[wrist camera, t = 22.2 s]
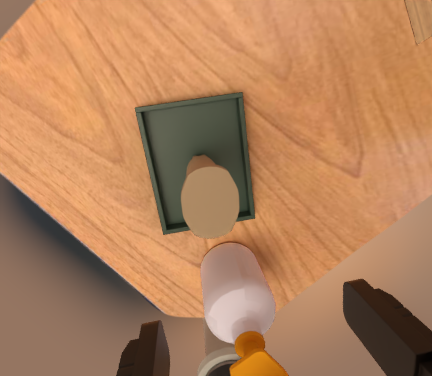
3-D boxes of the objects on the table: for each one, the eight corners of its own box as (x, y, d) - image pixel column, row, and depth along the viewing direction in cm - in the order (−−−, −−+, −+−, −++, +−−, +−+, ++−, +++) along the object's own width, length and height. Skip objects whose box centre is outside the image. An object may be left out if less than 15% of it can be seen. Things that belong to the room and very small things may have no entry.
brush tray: (251, 212, 40) (255, 218, 38) (164, 227, 39) (163, 234, 37) (238, 92, 34) (242, 92, 32) (137, 107, 34) (134, 107, 31)
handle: (185, 189, 37) (186, 241, 23) (179, 143, 35) (177, 169, 21) (219, 185, 37) (240, 235, 23) (215, 140, 36) (237, 164, 21)
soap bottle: (233, 230, 40) (299, 400, 17) (266, 267, 43) (362, 458, 20) (188, 264, 41) (194, 470, 18) (223, 299, 44) (267, 516, 21)
